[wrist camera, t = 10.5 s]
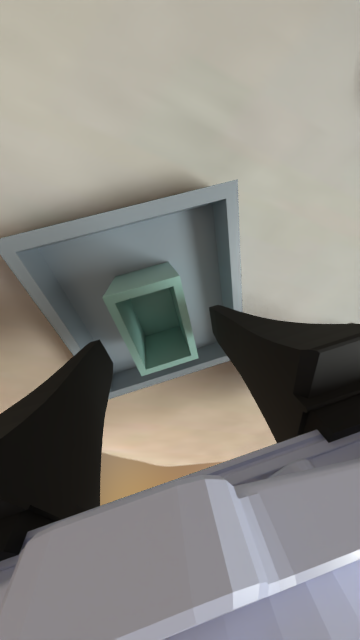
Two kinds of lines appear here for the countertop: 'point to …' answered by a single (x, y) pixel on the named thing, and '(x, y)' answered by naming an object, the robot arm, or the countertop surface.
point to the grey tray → (130, 255)
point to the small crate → (152, 317)
